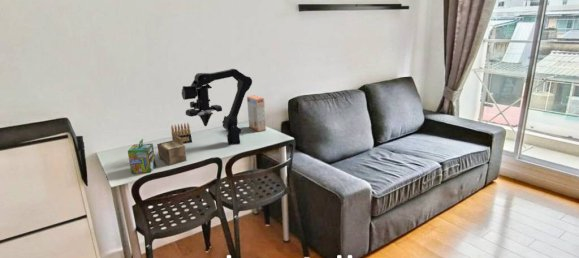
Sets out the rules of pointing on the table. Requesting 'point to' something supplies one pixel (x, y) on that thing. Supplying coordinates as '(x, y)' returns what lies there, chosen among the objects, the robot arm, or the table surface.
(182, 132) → the ammunition clip
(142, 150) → the chalk box
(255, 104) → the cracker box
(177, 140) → the lid
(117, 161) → the table surface
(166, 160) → the walnut box
